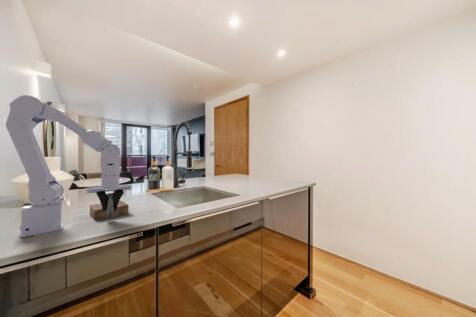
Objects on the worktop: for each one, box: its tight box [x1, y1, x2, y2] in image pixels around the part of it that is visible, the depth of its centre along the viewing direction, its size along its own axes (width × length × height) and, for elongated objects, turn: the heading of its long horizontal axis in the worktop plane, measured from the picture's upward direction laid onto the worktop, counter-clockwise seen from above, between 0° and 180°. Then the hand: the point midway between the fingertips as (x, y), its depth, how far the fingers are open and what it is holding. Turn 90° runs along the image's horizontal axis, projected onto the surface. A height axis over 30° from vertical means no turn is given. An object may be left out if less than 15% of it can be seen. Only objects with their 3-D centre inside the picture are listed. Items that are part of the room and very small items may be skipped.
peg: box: [104, 192, 115, 219], centre depth 72 cm, size 3×3×9 cm
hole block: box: [89, 200, 129, 221], centre depth 80 cm, size 12×10×4 cm
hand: (109, 209), depth 72 cm, fingers closed on peg, 3 cm apart
